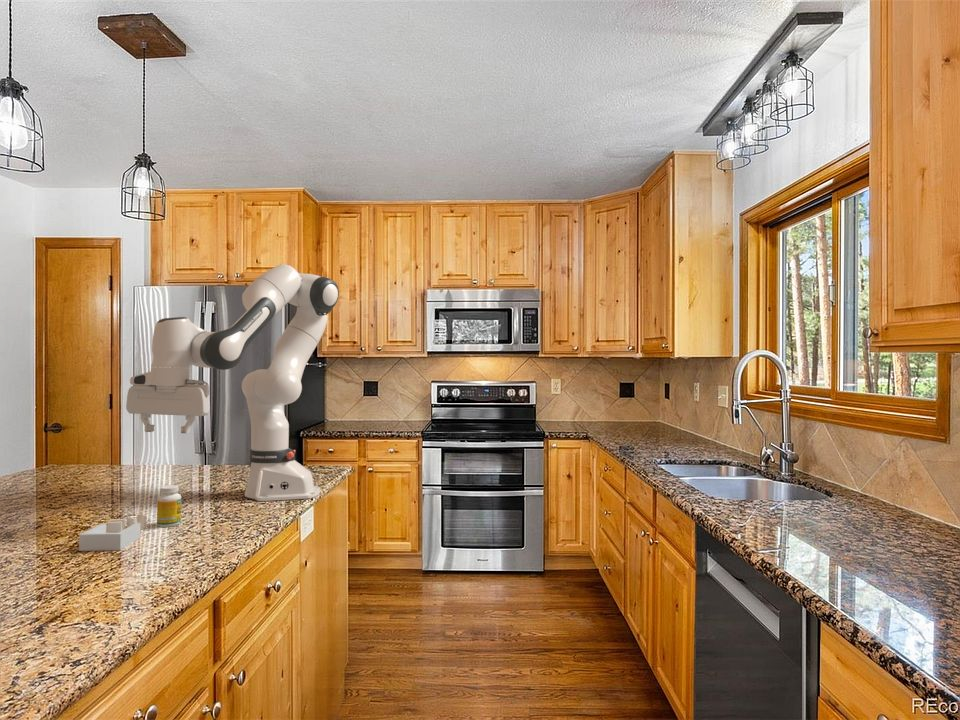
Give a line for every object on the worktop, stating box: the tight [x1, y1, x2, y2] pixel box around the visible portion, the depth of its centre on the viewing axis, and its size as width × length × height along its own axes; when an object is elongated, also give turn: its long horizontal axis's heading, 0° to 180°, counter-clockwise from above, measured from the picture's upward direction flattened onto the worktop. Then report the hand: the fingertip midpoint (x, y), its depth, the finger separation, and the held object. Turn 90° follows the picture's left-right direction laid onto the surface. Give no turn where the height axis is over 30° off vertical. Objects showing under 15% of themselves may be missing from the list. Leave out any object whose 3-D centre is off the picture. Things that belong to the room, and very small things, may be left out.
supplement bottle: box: [156, 484, 182, 528], centre depth 141 cm, size 5×5×10 cm
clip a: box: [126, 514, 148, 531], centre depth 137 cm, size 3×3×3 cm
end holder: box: [78, 522, 141, 552], centre depth 126 cm, size 8×8×4 cm
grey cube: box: [106, 518, 126, 533], centre depth 133 cm, size 3×3×3 cm
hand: (167, 432), depth 144 cm, fingers open, 8 cm apart
